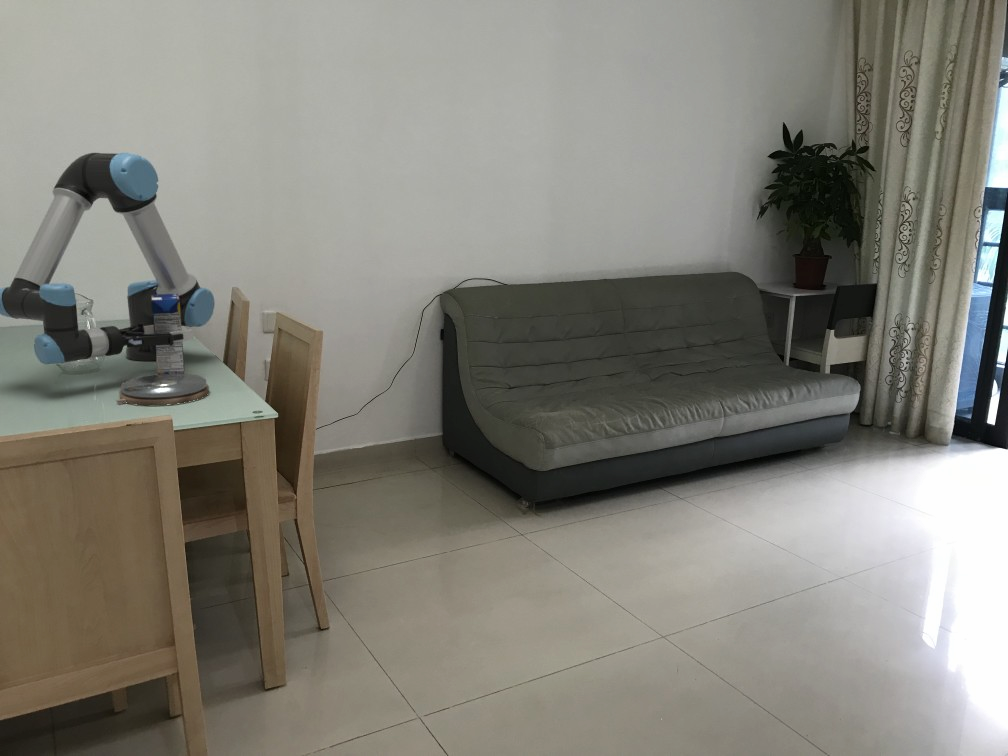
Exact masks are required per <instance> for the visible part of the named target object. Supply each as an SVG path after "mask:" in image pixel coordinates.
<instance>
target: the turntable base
mask: <svg viewBox="0 0 1008 756" xmlns="http://www.w3.org/2000/svg"><path fill="white" fill-rule="evenodd" d="M209 386H210V385H209V384H207V388H206V389H205V390H203V391H202V392H199V393H196V394H193V395H189V396H184V397H178V398H169V399H137V398H131V397H127V396H125V395H123V394H122V393H121V389H120V390H119V392H118V393H119V395H118V396H119V399H116V405H118V404H121V405H123V404H122V403H126V402H127V403H130V404H129V405H131V404H137V405H167V404H177V403H184V402H189V401H193V400H197V399H200V398H202V397H204V396H206V395H207V394H208V393H209V394H210V387H209ZM209 394H208V395H209ZM208 395H207V396H208ZM207 396H206V397H207ZM204 398H205V397H204ZM202 399H203V398H202ZM200 400H201V399H200ZM197 401H198V400H197ZM193 402H194V401H193ZM127 403H126V404H127ZM189 403H190V402H189ZM184 404H185V403H184ZM137 405H136V406H137ZM177 405H178V404H177Z"/></svg>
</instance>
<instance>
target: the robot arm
mask: <svg viewBox="0 0 1008 756" xmlns="http://www.w3.org/2000/svg"><path fill="white" fill-rule="evenodd" d="M158 182H159V177H158V173H157V171H156V169H155V167H154V165H153V164H152V163H151V162H150V161H149V160H148V159H147V158H145V157H143V156H141V155H139V154H134V153H129V152H120V153H113V152H112V153H109V152H108V153H107V152H106V153H105V152H104V153H103V152H102V153H101V152H89V153H86V154H85V153H84V155H81V156H79V157H78V158H76V159H75V160H74V161H73V162H71V163H70V164H69V165H68V166H67V167H66V169H65V170H64V171H63V173H62V174H61V175H60V176H59V178H58V180H57V182H56V183H55V185H54V187H53V188H52V189H53V190H52V195H53V199H52V202H51V203H50V206H49V207H48V209H47V211H46V214H45V215H44V218H43V219H42V222H41V223H40V225H39V227H38V229H37V232H36V233H35V236H34V237H33V240H32V241H31V243H30V246H29V247H28V249H27V251H26V253H25V256H24V257H23V259H22V261H21V264H20V266H19V268H18V270H17V271H16V274H15V276H14V277H13V280H12V281H11V283H10V286H6V287H2V288H0V315H1V316H4V317H6V318H12V319H16V320H19V319H20V320H21V319H22V320H33V321H38V322H39V321H40V322H42V323H43V324H42V325H43V333H42V334H39V335H36V337H35V338H34V343H33V349H34V354H35V356H36V359H37V360H38V361H39V362H40V363H41V364H43V365H52V364H54V365H55V364H65V363H70V362H76V361H81V360H82V361H83V360H88V359H90V360H91V361H95V358H101V357H102V358H103V357H110V356H116V355H120V354H121V353H122V351H123V349H124V348H125V347H124V346H126V349H125V355H126V359H129V360H131V361H140V362H141V361H142V362H143V361H144V362H145V361H146V362H149V361H153V362H154V361H156V349H155V346H156V345H170V346H172V344H174V342H179V341H182V342H185V341H192V340H194V334H193V333H194V332H193V329H185V330H182V331H176V332H169V333H168V334H154V323H153V310H152V296H151V295H154V294H178V296H179V299H180V314H181V327H188V328H193V327H195V328H200V327H203V326H204V325H206V324H208V322H209V321H210V320H211V318H212V316H213V314H214V309H215V303H216V302H215V298H214V294H213V292H212V291H211V290H210V289H208V288H206V287H202V286H200V284H199V282H198V279H197V278H196V277H195V275H193V274H190V273H188V272H187V270H186V267H185V265H184V263H183V261H182V259H181V257H180V255H179V252H178V250H177V248H176V246H175V244H174V242H173V240H172V238H171V236H170V234H169V232H168V229H167V227H166V225H165V223H164V221H163V219H162V217H161V215H160V213H159V210H158V209H157V207H156V204H155V202H156V200H157V197H158V195H157V192H158V189H159V184H158ZM98 199H107V200H108V202H109V204H110V206H111V208H112V209H113V211H114V212H115V213H116V214H120V215H122V216H123V218H124V220H125V221H126V223H127V225H128V228H129V230H130V231H131V234H132V236H133V238H134V239H135V241H136V243H137V245H138V248H139V249H140V251H141V253H142V255H143V257H144V259H145V260H146V263H147V265H148V267H149V268H150V270H151V273H152V275H153V277H154V279H155V280H154V279H153V280H144V281H138V282H132V283H130V284H129V285H128V286H127V296H126V298H127V307H128V317H129V325H130V326H128V327H125V328H120V329H119V328H118V327H117V326H115V325H108V326H102V327H91V328H84V329H79V323H78V322H79V320H78V309H77V299H76V294H75V288H74V286H73V285H72V284H69V283H64V282H63V283H62V282H61V283H58V282H56V283H55V282H53V283H51V281H52V278H54V274H55V273H56V270H57V268H58V266H59V264H60V262H61V261H62V258H63V256H64V254H65V252H66V250H67V248H68V246H69V244H70V242H71V239H72V237H73V236H74V233H75V231H76V229H77V227H78V226H79V223H80V221H81V219H82V217H83V215H84V213H85V212H86V211H90V210H91V208H92V206H93V204H94V202H95V201H97V200H98Z"/></svg>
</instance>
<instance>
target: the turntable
mask: <svg viewBox="0 0 1008 756" xmlns="http://www.w3.org/2000/svg"><path fill="white" fill-rule="evenodd" d="M207 385H208V384H207V379H206V378H204V377H203V376H199V375H195V374H187V373H185V374H161V375H157V374H154V375H153V374H152V375H145V376H140V377H134V378H132V379H131V378H130V379H129V380H126V381H125V382H122V384H121V385H120V390H121V393H122V394H123V395H125V396H127V397H131V398H137V399H169V398H178V397H184V396H189V395H193V394H196V393H199V392H202V391H203V390H205V389H206V388H207Z"/></svg>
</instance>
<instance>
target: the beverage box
mask: <svg viewBox="0 0 1008 756" xmlns="http://www.w3.org/2000/svg"><path fill="white" fill-rule="evenodd" d="M151 296H152V310H153V323H154V334H168V333H169V332H176V331H183V330H182V326H181V314H180V299H179V296H178V294H154V295H151ZM183 345H184V344H183V341H179V342H174V344H172V346H170V345H156V346H155V349H156V360H155V361H156V373H157V374H156V375H161V374H186V373H185V361H184V359H185V358H184V346H183Z"/></svg>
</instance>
